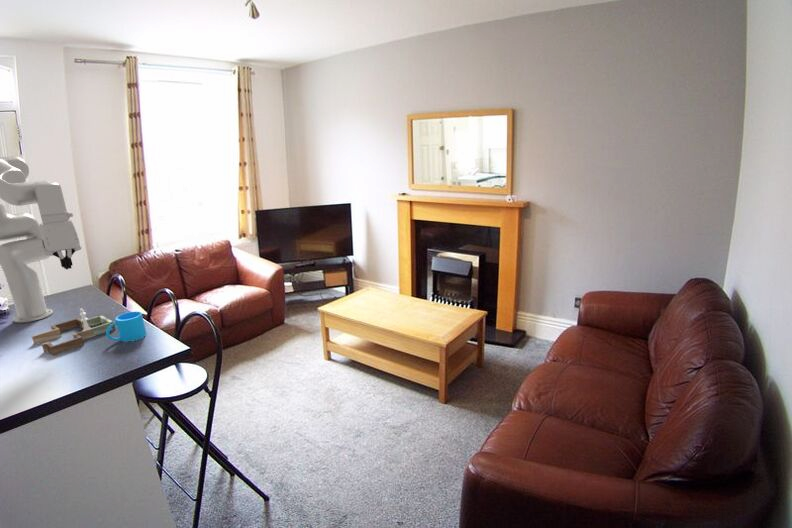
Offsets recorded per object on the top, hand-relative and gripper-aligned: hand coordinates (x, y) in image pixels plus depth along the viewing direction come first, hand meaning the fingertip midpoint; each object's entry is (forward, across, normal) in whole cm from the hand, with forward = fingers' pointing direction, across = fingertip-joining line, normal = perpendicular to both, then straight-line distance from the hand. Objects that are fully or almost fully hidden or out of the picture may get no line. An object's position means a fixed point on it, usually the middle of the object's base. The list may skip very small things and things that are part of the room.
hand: (67, 268), depth 160 cm
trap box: (+24, +5, +6) cm, 25 cm away
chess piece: (+24, 0, +6) cm, 25 cm away
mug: (+24, -7, +24) cm, 35 cm away
